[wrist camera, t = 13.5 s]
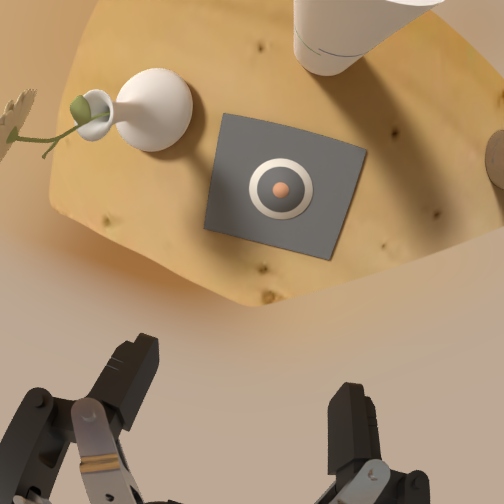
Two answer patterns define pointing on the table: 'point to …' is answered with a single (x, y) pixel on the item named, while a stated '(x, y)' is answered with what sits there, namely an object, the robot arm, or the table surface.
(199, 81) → the table surface
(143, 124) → the flower in vase
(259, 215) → the pad
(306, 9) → the cylindrical container
